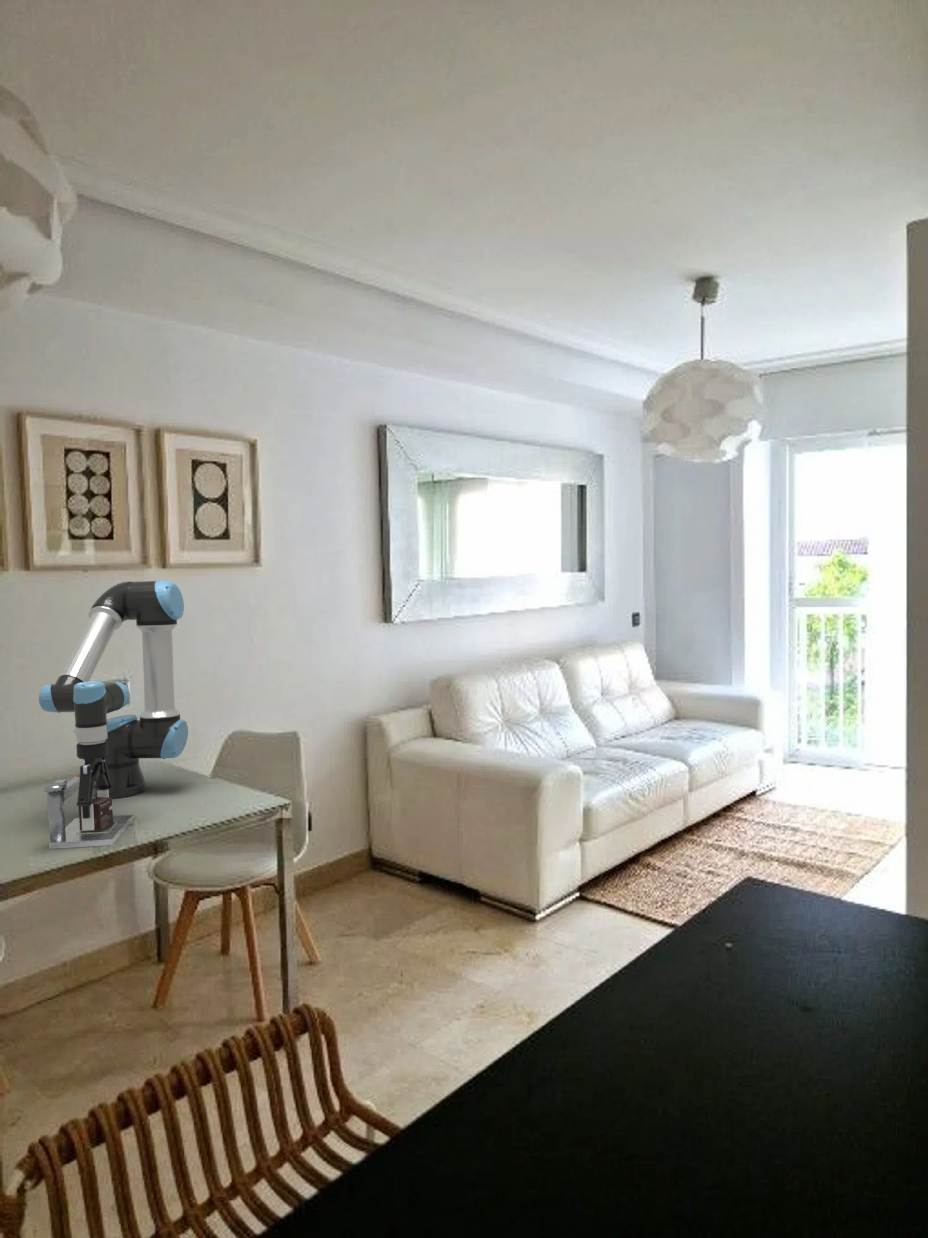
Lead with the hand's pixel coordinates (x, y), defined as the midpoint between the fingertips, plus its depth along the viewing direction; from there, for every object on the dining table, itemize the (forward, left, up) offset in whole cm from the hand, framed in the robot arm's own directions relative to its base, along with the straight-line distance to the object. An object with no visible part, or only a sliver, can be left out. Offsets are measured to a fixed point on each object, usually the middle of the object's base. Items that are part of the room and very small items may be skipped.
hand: (96, 821), depth 220 cm
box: (0, 0, -2) cm, 2 cm away
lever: (-1, -7, +7) cm, 10 cm away
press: (0, -1, -3) cm, 3 cm away
